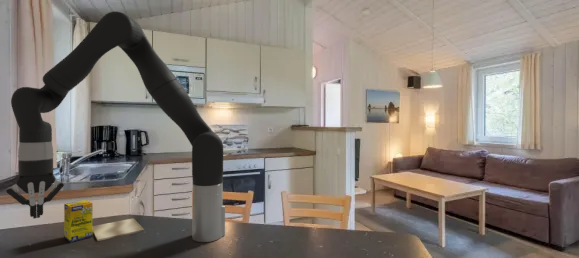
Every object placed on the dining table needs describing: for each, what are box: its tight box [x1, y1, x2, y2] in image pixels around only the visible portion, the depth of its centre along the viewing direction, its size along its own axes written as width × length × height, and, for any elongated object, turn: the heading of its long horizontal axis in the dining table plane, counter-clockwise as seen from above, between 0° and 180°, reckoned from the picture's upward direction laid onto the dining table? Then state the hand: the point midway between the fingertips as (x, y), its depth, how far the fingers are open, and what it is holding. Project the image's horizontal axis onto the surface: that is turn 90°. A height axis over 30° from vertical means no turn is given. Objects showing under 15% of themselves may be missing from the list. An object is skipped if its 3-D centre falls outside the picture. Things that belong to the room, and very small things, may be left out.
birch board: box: [92, 218, 145, 242], centre depth 96 cm, size 13×14×1 cm
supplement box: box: [63, 199, 94, 244], centre depth 89 cm, size 6×6×11 cm
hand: (36, 217), depth 82 cm, fingers closed
